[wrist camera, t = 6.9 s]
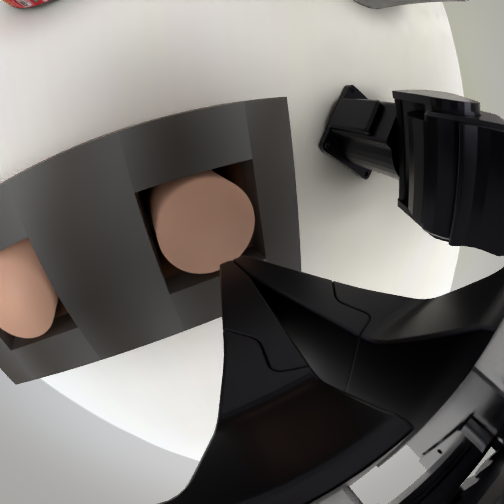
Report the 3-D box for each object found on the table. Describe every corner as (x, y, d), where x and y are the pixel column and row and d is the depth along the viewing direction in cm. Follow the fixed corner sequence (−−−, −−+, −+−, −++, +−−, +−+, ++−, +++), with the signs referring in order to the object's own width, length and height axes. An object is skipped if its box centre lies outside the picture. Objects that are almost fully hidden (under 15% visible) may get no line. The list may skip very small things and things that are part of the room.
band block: (229, 102, 16) (286, 96, 10) (250, 235, 21) (301, 282, 16) (-26, 200, 10) (-78, 243, 5) (31, 315, 16) (15, 384, 10)
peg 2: (205, 150, 16) (247, 166, 11) (218, 212, 19) (260, 254, 14) (138, 170, 15) (143, 196, 10) (156, 233, 17) (173, 286, 12)
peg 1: (56, 202, 13) (25, 246, 8) (81, 261, 16) (70, 325, 11) (6, 227, 12) (-34, 278, 7) (33, 282, 15) (10, 346, 9)
